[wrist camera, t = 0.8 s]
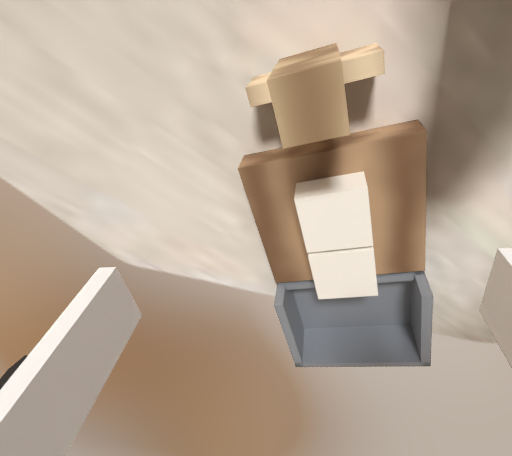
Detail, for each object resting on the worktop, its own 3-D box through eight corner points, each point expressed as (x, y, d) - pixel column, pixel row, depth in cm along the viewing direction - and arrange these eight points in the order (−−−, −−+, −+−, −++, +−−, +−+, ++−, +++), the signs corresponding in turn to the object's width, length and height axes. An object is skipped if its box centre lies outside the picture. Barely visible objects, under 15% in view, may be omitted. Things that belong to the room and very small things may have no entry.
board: (417, 119, 28) (427, 131, 25) (418, 251, 36) (425, 270, 33) (243, 155, 32) (237, 168, 30) (278, 265, 40) (276, 282, 38)
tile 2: (363, 171, 28) (367, 187, 26) (369, 226, 31) (373, 245, 29) (296, 183, 30) (294, 199, 27) (308, 234, 33) (307, 252, 31)
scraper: (374, 24, 24) (404, 42, 16) (377, 80, 26) (406, 123, 18) (249, 61, 27) (216, 94, 18) (262, 108, 29) (237, 158, 21)
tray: (417, 255, 36) (432, 295, 31) (418, 324, 42) (430, 366, 37) (279, 268, 40) (274, 305, 36) (298, 328, 47) (295, 366, 42)
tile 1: (369, 230, 31) (373, 250, 29) (374, 274, 35) (378, 295, 32) (308, 237, 33) (307, 256, 31) (318, 279, 36) (318, 299, 34)
